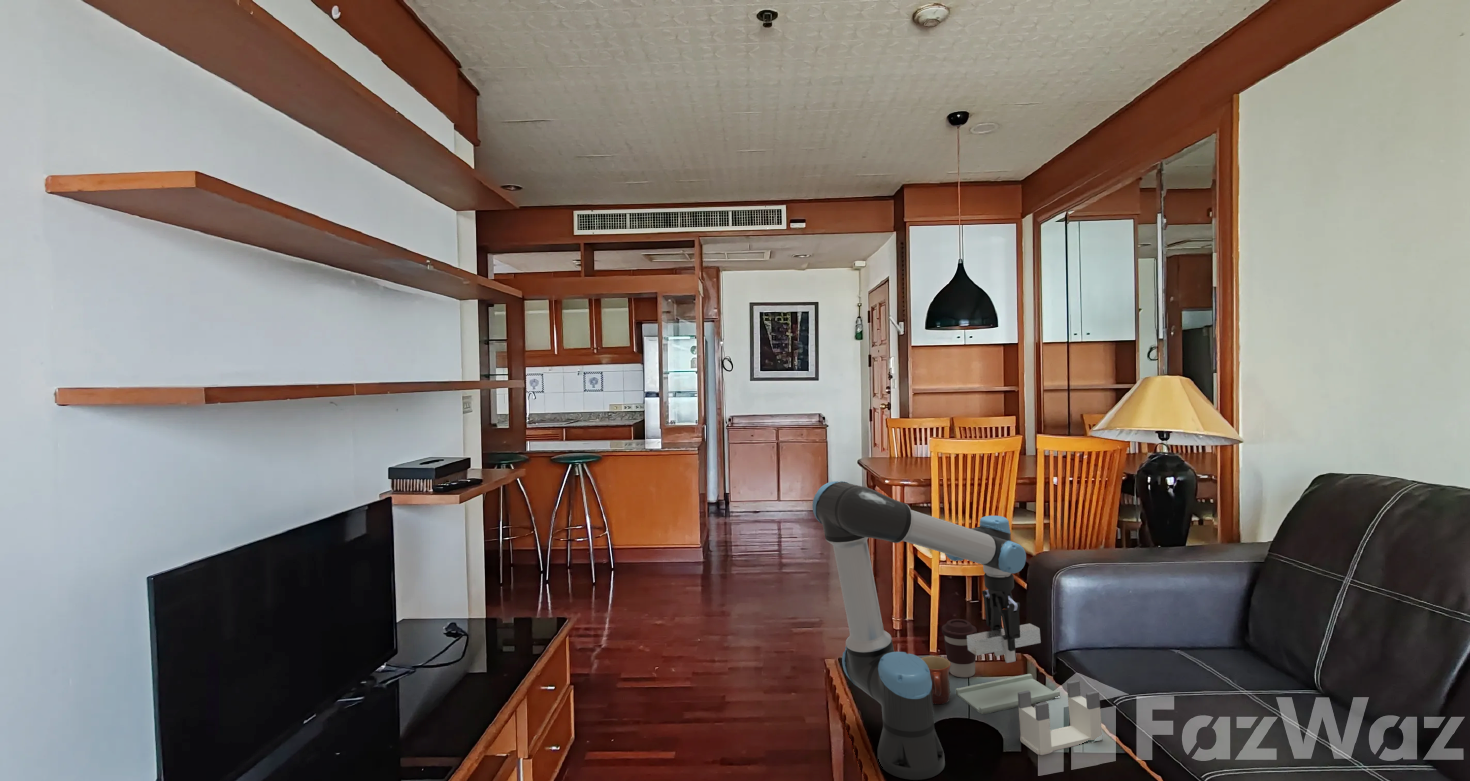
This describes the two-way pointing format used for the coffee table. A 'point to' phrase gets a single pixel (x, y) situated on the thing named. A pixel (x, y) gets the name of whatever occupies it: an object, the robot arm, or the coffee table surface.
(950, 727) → the coffee table surface
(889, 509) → the robot arm
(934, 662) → the mug
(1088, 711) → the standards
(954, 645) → the coffee cup
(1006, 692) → the pad
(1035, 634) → the rail
